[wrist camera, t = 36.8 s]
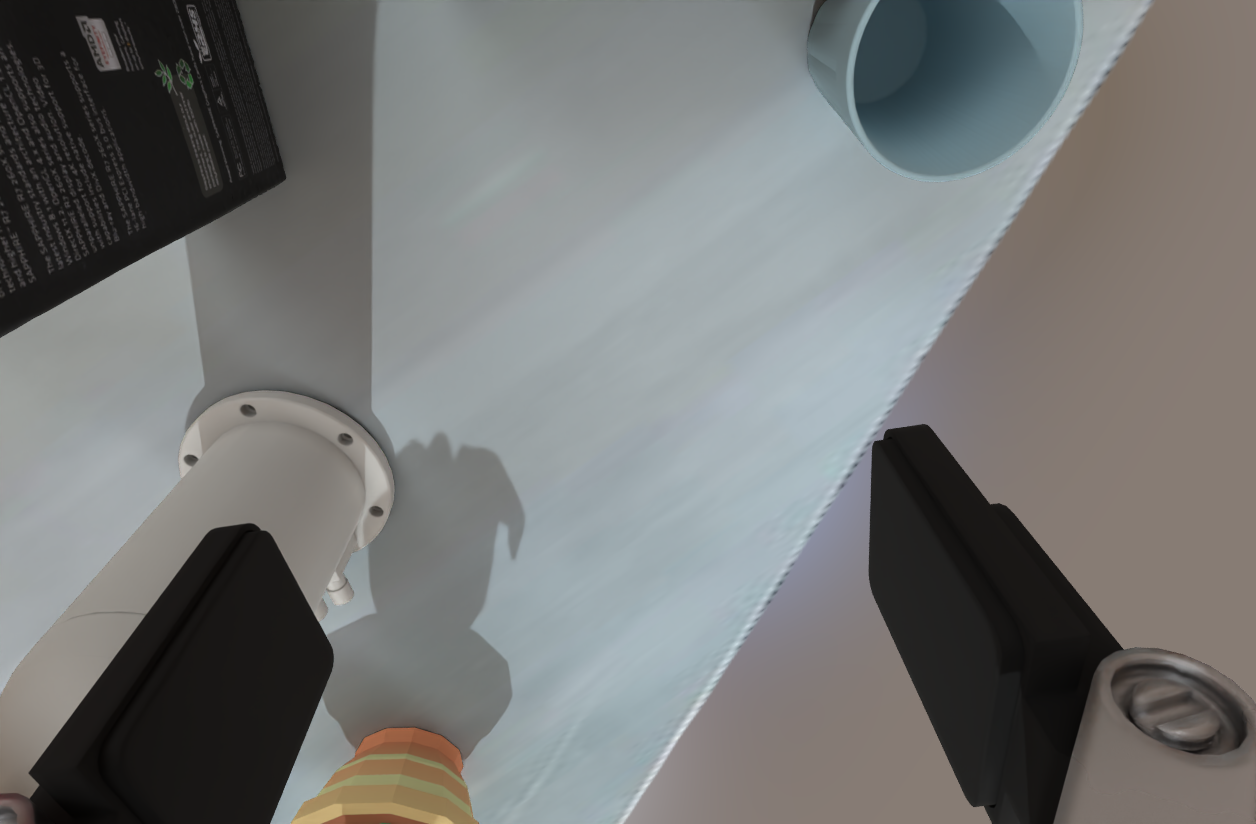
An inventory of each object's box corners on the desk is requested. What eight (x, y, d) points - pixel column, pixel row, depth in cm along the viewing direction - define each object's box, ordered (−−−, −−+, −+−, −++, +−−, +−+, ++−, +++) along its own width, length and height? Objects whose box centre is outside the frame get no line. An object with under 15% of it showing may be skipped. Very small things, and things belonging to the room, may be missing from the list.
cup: (755, 1, 31) (814, 7, 22) (924, -98, 29) (1062, -134, 20) (814, 159, 35) (885, 218, 26) (967, 79, 33) (1100, 113, 24)
